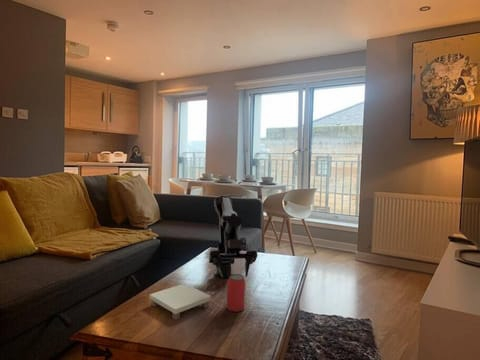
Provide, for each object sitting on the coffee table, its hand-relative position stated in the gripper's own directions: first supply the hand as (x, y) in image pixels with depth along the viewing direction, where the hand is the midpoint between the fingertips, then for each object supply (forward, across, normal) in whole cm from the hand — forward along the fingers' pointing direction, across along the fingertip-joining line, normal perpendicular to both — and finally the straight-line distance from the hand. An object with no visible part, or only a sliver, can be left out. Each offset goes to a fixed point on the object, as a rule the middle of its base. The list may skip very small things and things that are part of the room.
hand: (234, 276), depth 125 cm
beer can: (+10, 0, +5) cm, 11 cm away
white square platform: (+7, -20, +8) cm, 23 cm away
